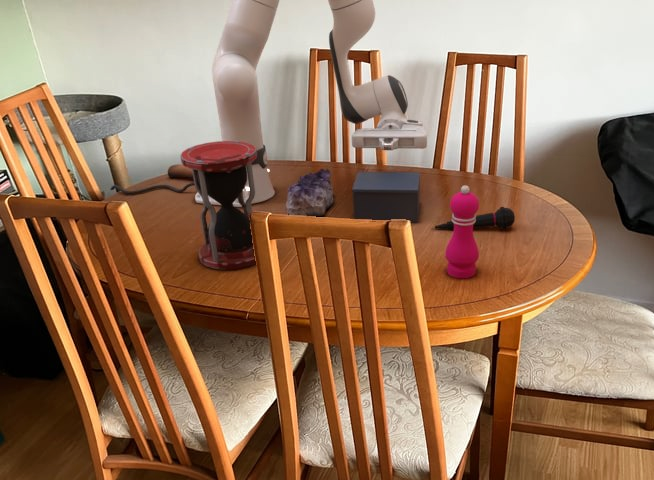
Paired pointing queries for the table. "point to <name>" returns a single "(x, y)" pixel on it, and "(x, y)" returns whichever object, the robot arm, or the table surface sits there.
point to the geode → (311, 194)
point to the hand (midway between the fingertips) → (387, 147)
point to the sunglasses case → (180, 171)
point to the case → (386, 205)
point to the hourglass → (224, 201)
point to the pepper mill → (463, 235)
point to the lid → (387, 182)
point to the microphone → (488, 220)
